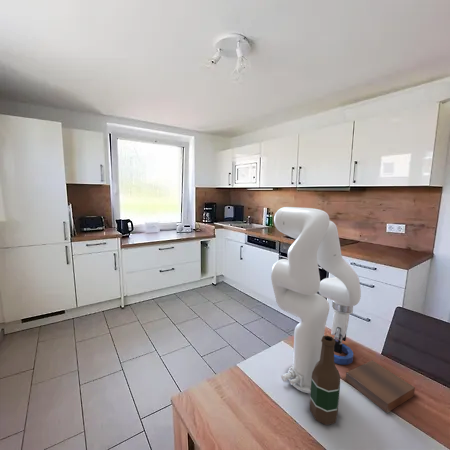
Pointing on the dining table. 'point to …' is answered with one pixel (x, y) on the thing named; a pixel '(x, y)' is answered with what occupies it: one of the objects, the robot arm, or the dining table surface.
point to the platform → (380, 385)
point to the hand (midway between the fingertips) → (339, 345)
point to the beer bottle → (325, 385)
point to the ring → (344, 359)
